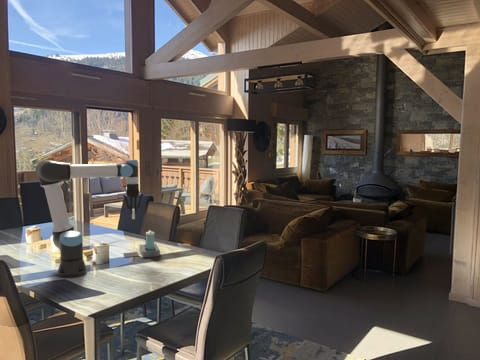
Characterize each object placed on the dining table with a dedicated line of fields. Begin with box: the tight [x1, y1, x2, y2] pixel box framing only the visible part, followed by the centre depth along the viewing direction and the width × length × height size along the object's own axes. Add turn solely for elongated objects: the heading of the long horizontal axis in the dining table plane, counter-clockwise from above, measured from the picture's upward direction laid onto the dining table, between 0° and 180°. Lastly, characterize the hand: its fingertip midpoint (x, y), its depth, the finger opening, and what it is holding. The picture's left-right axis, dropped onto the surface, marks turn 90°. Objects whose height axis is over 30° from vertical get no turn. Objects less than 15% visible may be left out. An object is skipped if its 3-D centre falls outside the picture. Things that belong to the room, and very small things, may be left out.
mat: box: [122, 251, 140, 259], centre depth 249 cm, size 9×9×1 cm
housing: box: [139, 243, 161, 259], centre depth 253 cm, size 17×11×4 cm, turn 22°
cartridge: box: [145, 229, 155, 251], centre depth 249 cm, size 5×5×16 cm
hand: (133, 218), depth 247 cm, fingers closed
